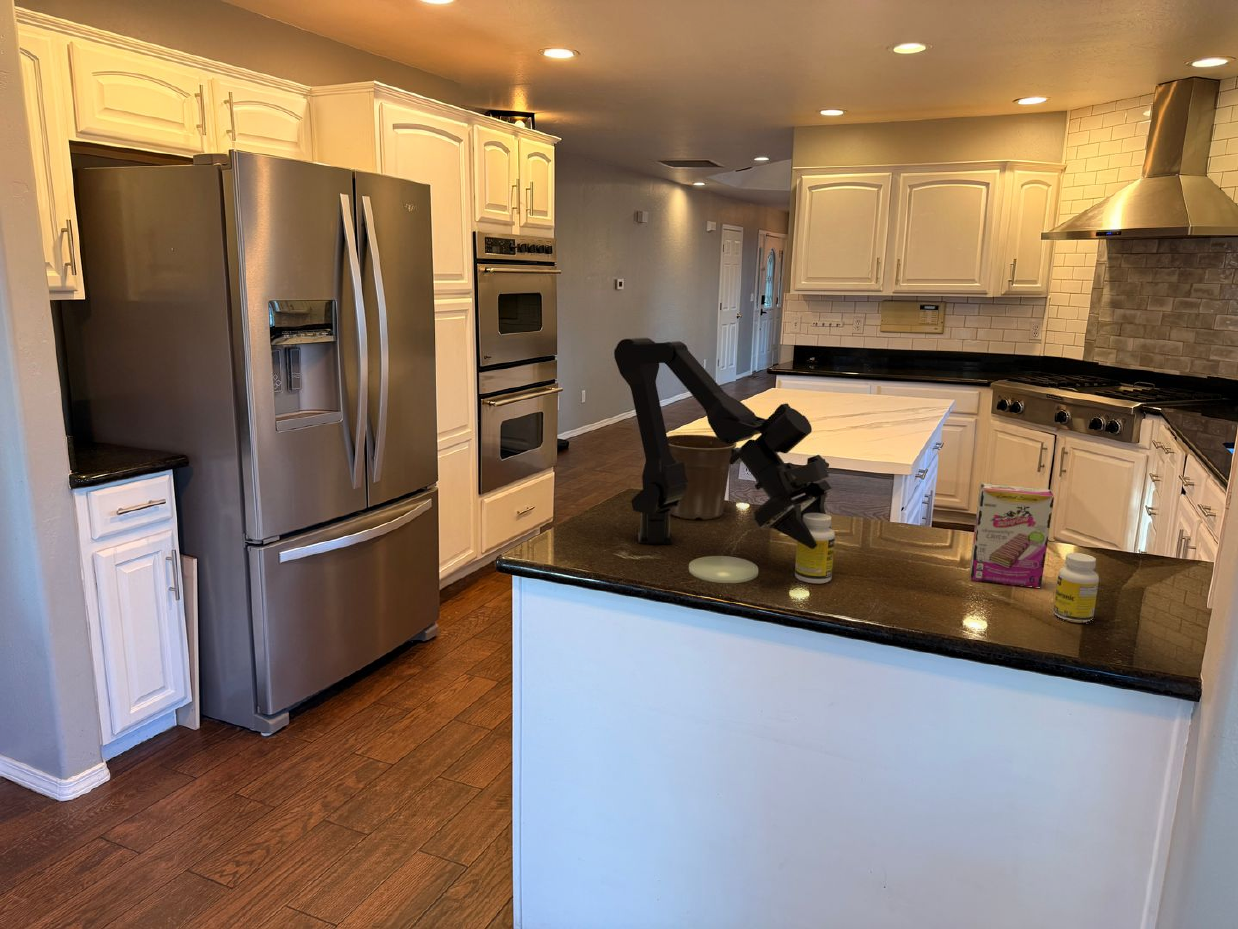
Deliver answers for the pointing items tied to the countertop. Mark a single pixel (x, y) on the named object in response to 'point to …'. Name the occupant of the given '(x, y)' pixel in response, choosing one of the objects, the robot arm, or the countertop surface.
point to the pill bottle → (816, 550)
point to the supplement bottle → (1076, 588)
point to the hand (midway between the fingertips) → (823, 543)
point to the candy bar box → (1011, 534)
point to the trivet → (723, 569)
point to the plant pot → (701, 474)
